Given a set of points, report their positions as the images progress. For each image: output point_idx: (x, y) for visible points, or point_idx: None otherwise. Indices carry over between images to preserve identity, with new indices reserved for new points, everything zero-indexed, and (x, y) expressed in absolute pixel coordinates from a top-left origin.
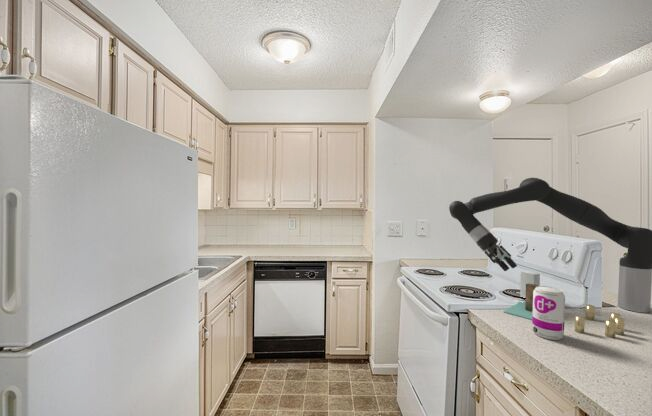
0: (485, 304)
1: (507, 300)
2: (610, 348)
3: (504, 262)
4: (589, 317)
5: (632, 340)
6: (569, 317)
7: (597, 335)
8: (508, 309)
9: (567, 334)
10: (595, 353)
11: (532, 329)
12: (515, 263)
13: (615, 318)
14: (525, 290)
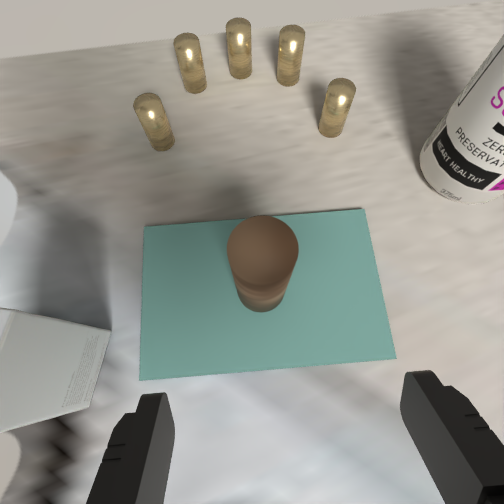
0: (368, 483)
1: (184, 438)
2: (382, 61)
3: (462, 448)
4: (172, 133)
5: (265, 46)
6: (204, 182)
7: (311, 96)
8: (347, 356)
9: (389, 140)
10: (455, 71)
11: (501, 194)
12: (137, 416)
13: (246, 32)
14: (71, 379)
